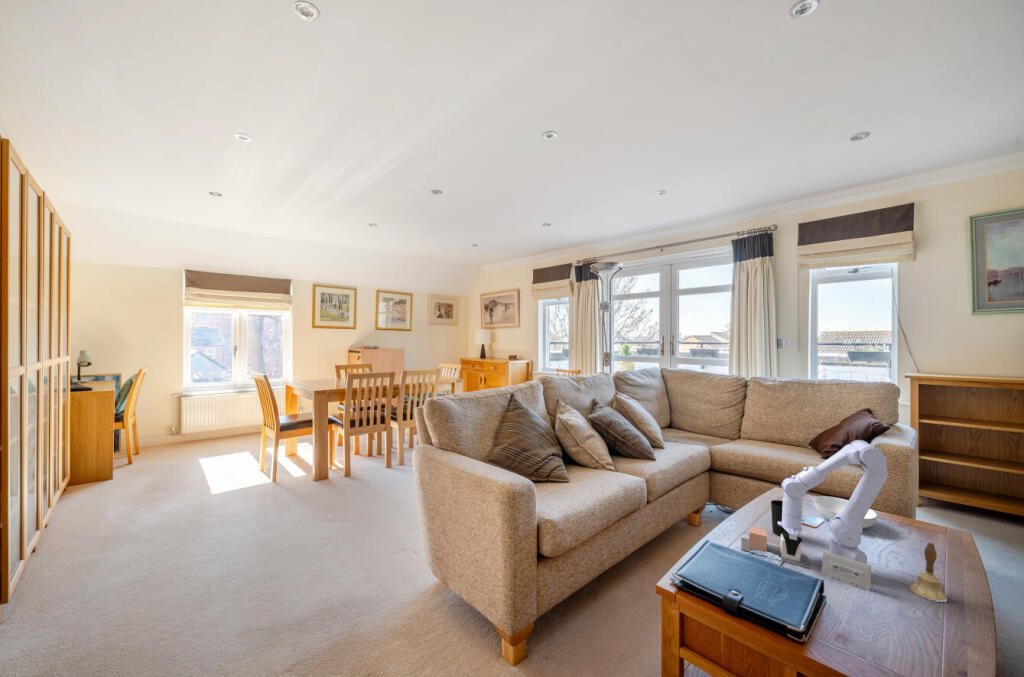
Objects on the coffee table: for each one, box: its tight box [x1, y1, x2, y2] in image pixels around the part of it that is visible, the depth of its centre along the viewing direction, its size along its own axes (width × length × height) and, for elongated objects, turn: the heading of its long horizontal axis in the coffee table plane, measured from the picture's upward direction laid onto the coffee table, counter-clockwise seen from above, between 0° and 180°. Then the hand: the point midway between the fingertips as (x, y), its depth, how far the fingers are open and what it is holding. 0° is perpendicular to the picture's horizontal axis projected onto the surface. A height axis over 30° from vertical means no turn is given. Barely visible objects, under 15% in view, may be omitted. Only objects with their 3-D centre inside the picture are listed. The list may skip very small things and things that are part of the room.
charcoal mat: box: [740, 537, 810, 570], centre depth 143 cm, size 20×10×1 cm, turn 59°
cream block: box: [779, 534, 802, 562], centre depth 140 cm, size 5×5×6 cm
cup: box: [770, 499, 783, 538], centre depth 157 cm, size 8×8×12 cm
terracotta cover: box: [748, 525, 768, 552], centre depth 146 cm, size 5×5×6 cm
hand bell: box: [908, 542, 947, 600], centre depth 122 cm, size 8×8×16 cm
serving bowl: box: [813, 495, 878, 529], centre depth 169 cm, size 21×21×7 cm
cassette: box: [821, 550, 872, 592], centre depth 127 cm, size 12×2×8 cm, turn 49°
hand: (790, 550), depth 141 cm, fingers closed on cream block, 5 cm apart
